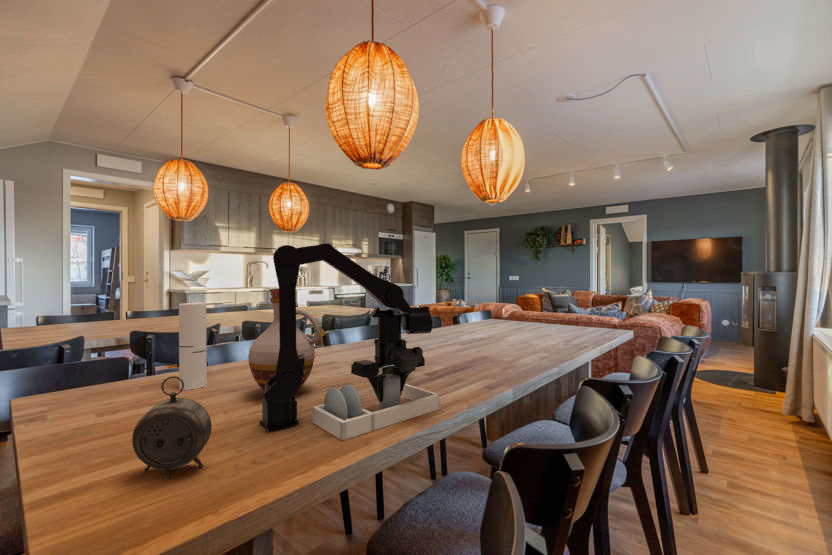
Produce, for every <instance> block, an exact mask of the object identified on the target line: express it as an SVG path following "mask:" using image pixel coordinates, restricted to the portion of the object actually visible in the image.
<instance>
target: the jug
mask: <svg viewBox="0 0 832 555" xmlns="http://www.w3.org/2000/svg"><path fill="white" fill-rule="evenodd" d="M269 292H270V295H271V297H270V298H269V300H270V303H271V305H272V310H273V321H272V322H271V324H270V325H269V326H268V327H266V329H265V330H264V331H263V332H262V333H261V334H260V335H259V336H258V337H257V338H256V339H255V340H253V342H252V344H251V346H250V347H249V350H248V356H247V358H248V365H249V369H250V372H251V375H252V377H253V379H254V381H255V383H256V384H257V385H258V386H259V387H260V388H261V390H262V391H263V392H265V386H266V383H267V382H268V381H269V380H270V379H271V378H272V377H273V376H274V375H275V370H276V365H277V359H278V354H279V348H280V334H279V288H271V289H270V288H269ZM297 315H300V316H303V317H305V318H306V319H307V320H308V321H309V322H310V323H311V325H312V327H313V330H314V336H313V338H312V339H311V338H310V337H308V335H306V334H305V332H303V331H302V330H301V329H300V328H299V327H297V326H296V349H297V354H298V355H300V354H304V358H305V362H304V368H303V369H304V373H305V377H302V382H301V385H300V386H299V387H298V388H297V389H296V390H295V391H293V394H294V395H295V394H297V393H298V392H299V390H301V388H302V387H303V386H304V384H305V382H306V381H307V380H308V378H309V377H310V375H311V372H312V369H313V366H314V361H315V358H316V357H315V354H316V350H315V346H314V344H316V343H317V342H318V341H319V338H320V335H321V330H320V326H319V324H318V321H317V320H316V318H315V317H314V316H313V315H312V314H311V313H309V312H307V311H306V310H303V309H300V308H299V309H296V316H297Z"/></svg>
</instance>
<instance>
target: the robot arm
mask: <svg viewBox="0 0 832 555" xmlns="http://www.w3.org/2000/svg"><path fill="white" fill-rule="evenodd" d="M321 261H322V262H325V263H326V264H327V265H329V266H330V267H332V268H334V269H335V270H336V271H337V272H339V273H341V274H343V275H344V276H345V277H347V278H348V279H350V280H351V281H353V282H354V283H356V284H357V285H359V286H360V287H362V288H363V289H364V291H366V292H367V293H368V294H369V295H370V297H371V298H373V299H374V301H376V302H377V303H378V304H379V305H380V306H382V307H385V308H389V309H380V307H378V306H375V307H374V309H373V311H371V312H370V313H369V315H368V316H369V317H370V318H376V319H377V338H374V341H375V343H377V344H378V355H376V356H375V355H374V361H373V360H369V359H362V360H356V361H353V362H352V364H351V366H350V367H351V368H350V372H351V374H352V375H355V376H357V377H361V378H367V379H368V382H369V384H370V385H371V388H372V389H373V392H374V394H375V396H376V398H377V400H378V403H379V402H382V401H383V380H384V379H385V377H386V375H384V374H382V369H386V368H391V367H393V374H395V375H399V376H400V398H401V396H402V394H403V392H404V385H405V384H406V381H407V379H408V377H409V376H410V374H412V373H413V372H416V368H421V367H424V366H426V363H425V362H426V361H425V360H426V359H425V357H424V354H423V348H422V347H420V346H414V347H412V348H407V345H406V346H405V340H406V339H404V338H403V339H402V330H403V331H405V333H406V334H407V335H417V334H419V335H420V334H430V333H432V331H433V319H432V314H431V312H430V307H429V306H426V305H425V306H424V305H422V306H417V307H416V306H415V307H413V306H410V304H409V303H408V301H407V300H406V299H405V297H404V296H405V295H404V290H403V288H402V287H401V286H399V285H398V284H396V283H394V282H391V281H389V280H386V279H384V278H381V277H380V276H377V275H375V274H373V273H372V272H370V271H368V270H367V269H366V268H365V267H362V266H361V265H360V264H358V263H357V262H356V261H354V260H352V259H351V258H349V257H348V256H346V255H345V254H343V253H342V252H340V251H339V250H337V249H336V248H335V247H334V246H333V244H331V243H329V242H323V243H320V244H317V245H307V246H301V247H295V246H293V245H288V244H285V245H281V246H280V247H278V248H276V249H275V251H274V253H273V265H274V269H275V275H276V278H277V279H276V280H277V284H278V289H279V334H280V348H279V354H278V359H277V365H276V370H275V375H274V376H273V377H272V378H271V379H270V380H269V381H268V382H267V383H266V386H265V392H264V391H263V392H264V393H263V395H264V396H263V397H262V399H261V400H262V403H261V404H262V408H261V409H262V412H261V414H262V416H261V417H262V419H261V420H260V421H259V424H260V425H261V426H262V427H263V428H265V429H266V430H267V431H268V432H275V431H278V430H281V429H284V428H290V427H293V426H296V425H299V421H298V420H297V419H298V401H297V400H296V395H295V394H293V391H295V390H296V389H297V388H298V387H299V386H300V385H301V382H302V377H305V373H304V369H303V368H304V362H305V358H304V354H300V355H298V354H297V349H296V327H297V315H296V310H297V291H296V290H297V284H298V278H299V273H300V267H301V265H306V264H312V263H317V262H321ZM393 309H394V310H395V311H399V313H398V312H397V313H394V310H393ZM375 360H377V361H378V362H375ZM384 364H387V365H384Z"/></svg>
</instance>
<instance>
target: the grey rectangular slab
mask: <svg viewBox="0 0 832 555" xmlns="http://www.w3.org/2000/svg"><path fill="white" fill-rule="evenodd" d="M400 404H401V397H400V376H399V375H395V374H386V377H385V379H384V380H383V401H382V402H379V401H378V407H379V408H380V409H382V410H383V409H386V408H390V407H393V406H397V405H400Z"/></svg>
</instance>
